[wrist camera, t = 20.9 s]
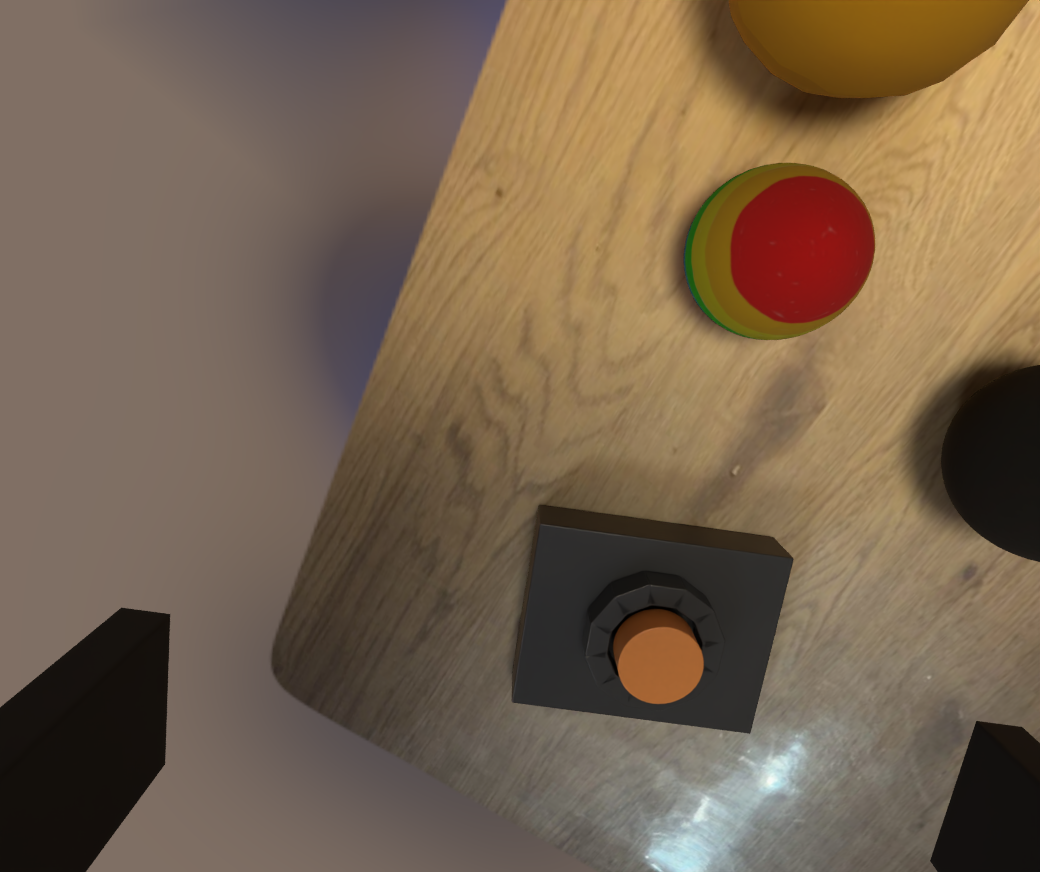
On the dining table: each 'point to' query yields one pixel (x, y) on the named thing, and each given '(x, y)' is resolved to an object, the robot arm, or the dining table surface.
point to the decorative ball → (998, 462)
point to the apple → (869, 41)
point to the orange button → (657, 656)
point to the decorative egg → (779, 251)
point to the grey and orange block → (641, 586)
